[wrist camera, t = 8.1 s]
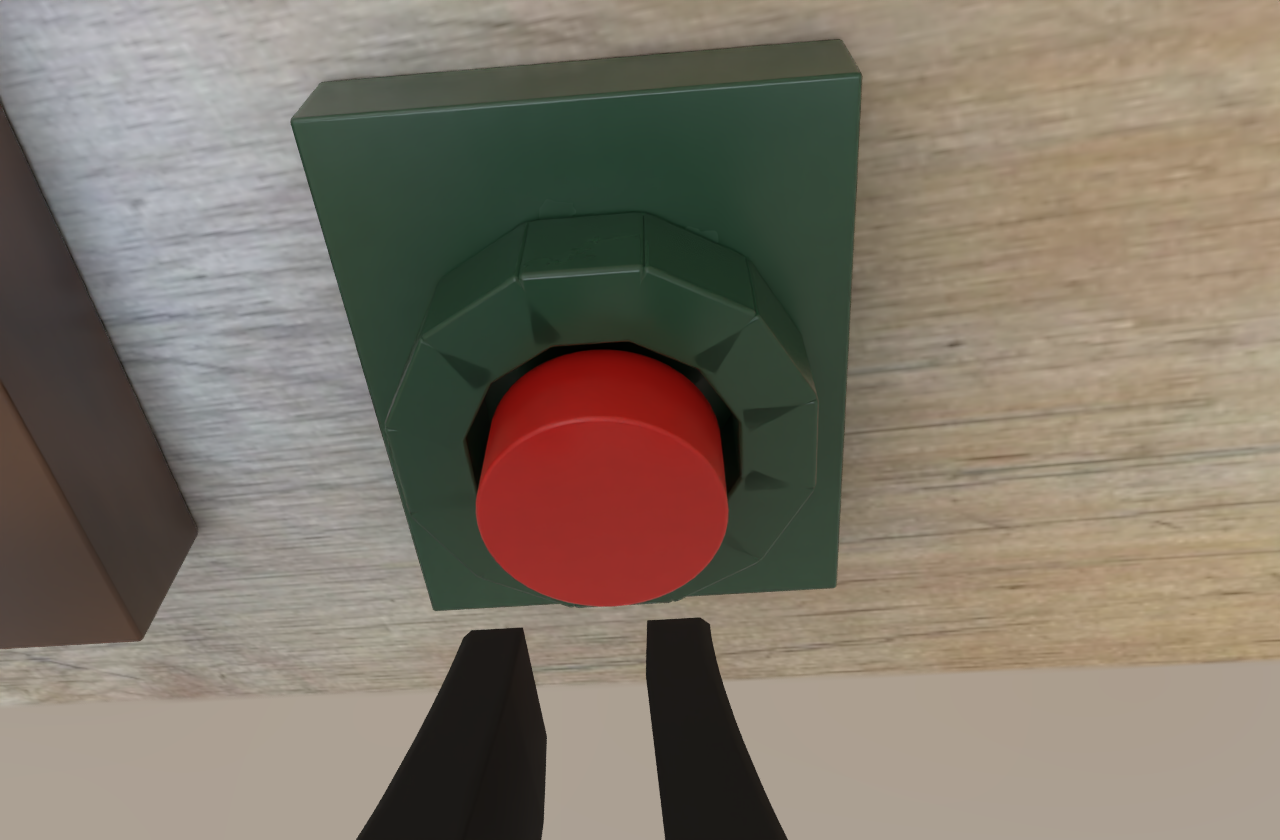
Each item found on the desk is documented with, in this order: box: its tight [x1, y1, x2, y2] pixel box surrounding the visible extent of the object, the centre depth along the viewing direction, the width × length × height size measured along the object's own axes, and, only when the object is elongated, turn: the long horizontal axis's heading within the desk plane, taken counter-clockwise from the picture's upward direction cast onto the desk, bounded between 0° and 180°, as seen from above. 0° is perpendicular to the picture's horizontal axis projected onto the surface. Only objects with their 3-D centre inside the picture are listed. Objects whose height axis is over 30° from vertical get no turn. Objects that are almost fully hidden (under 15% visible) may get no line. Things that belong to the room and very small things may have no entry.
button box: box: [290, 39, 862, 611], centre depth 17 cm, size 10×8×4 cm
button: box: [476, 349, 729, 607], centre depth 15 cm, size 4×4×2 cm
